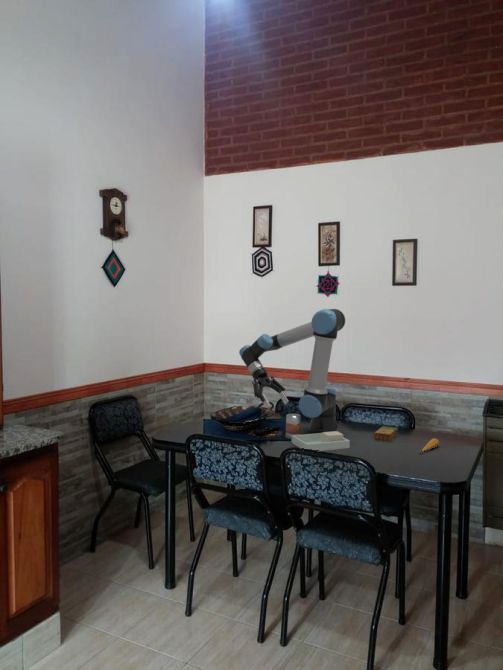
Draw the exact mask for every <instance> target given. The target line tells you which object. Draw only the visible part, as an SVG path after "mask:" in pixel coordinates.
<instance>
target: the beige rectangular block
mask: <svg viewBox="0 0 503 670" xmlns="http://www.w3.org/2000/svg"><path fill="white" fill-rule="evenodd" d="M343 438H344V434H343V433H341V432H340V431H339V430H338V431H333V432H322V443H323V442H334V441H343Z"/></svg>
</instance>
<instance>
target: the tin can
mask: <svg viewBox="0 0 503 670" xmlns="http://www.w3.org/2000/svg"><path fill="white" fill-rule="evenodd" d="M301 416H302V415H301V414H298V413H288V414H286V417H285V421H286V422H285V438H286V439H289V440H292V436H293V435H301V422H302V421H301V418H302V417H301Z"/></svg>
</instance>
